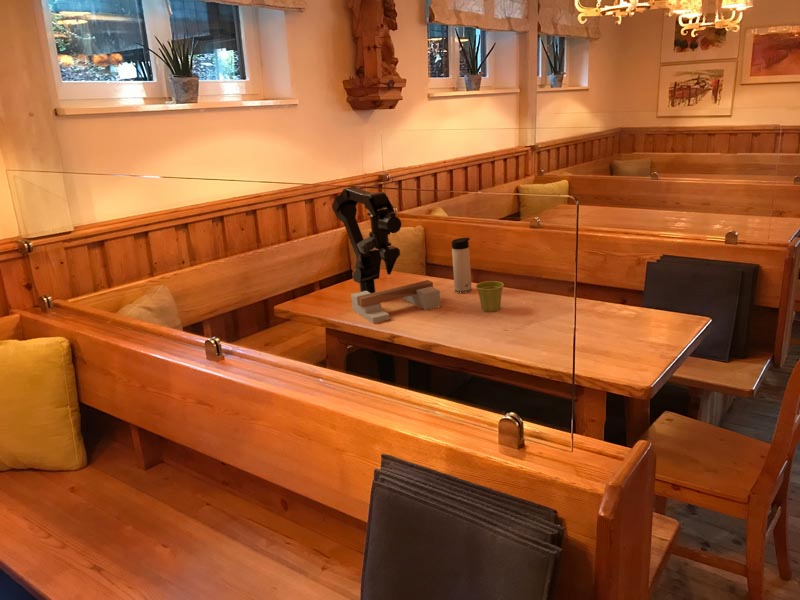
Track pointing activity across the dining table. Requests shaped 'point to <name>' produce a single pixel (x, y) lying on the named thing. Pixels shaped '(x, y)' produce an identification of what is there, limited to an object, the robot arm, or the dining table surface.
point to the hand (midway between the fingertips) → (383, 271)
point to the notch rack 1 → (369, 309)
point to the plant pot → (490, 295)
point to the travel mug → (461, 265)
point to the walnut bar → (392, 293)
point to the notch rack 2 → (425, 298)
